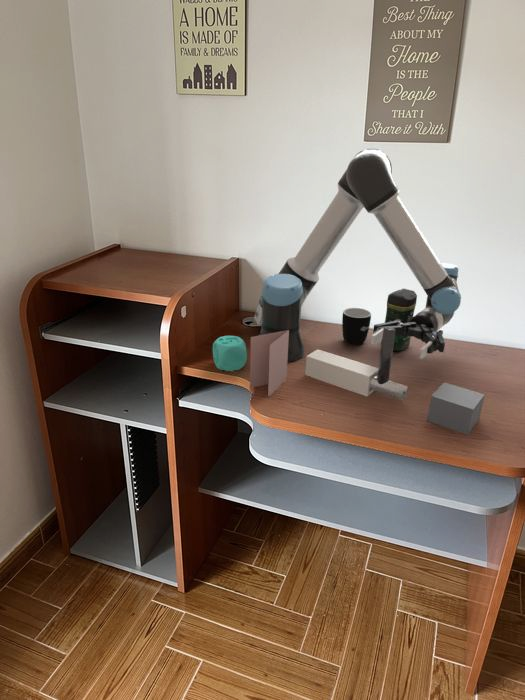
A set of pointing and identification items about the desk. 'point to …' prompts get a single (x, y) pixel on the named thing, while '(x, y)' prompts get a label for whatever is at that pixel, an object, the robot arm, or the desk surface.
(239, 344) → the decorative dice
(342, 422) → the desk surface
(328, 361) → the elongated cream cuboid
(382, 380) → the slide bolt
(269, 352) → the greeting card
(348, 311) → the mug
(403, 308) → the coffee jar
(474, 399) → the socket block
